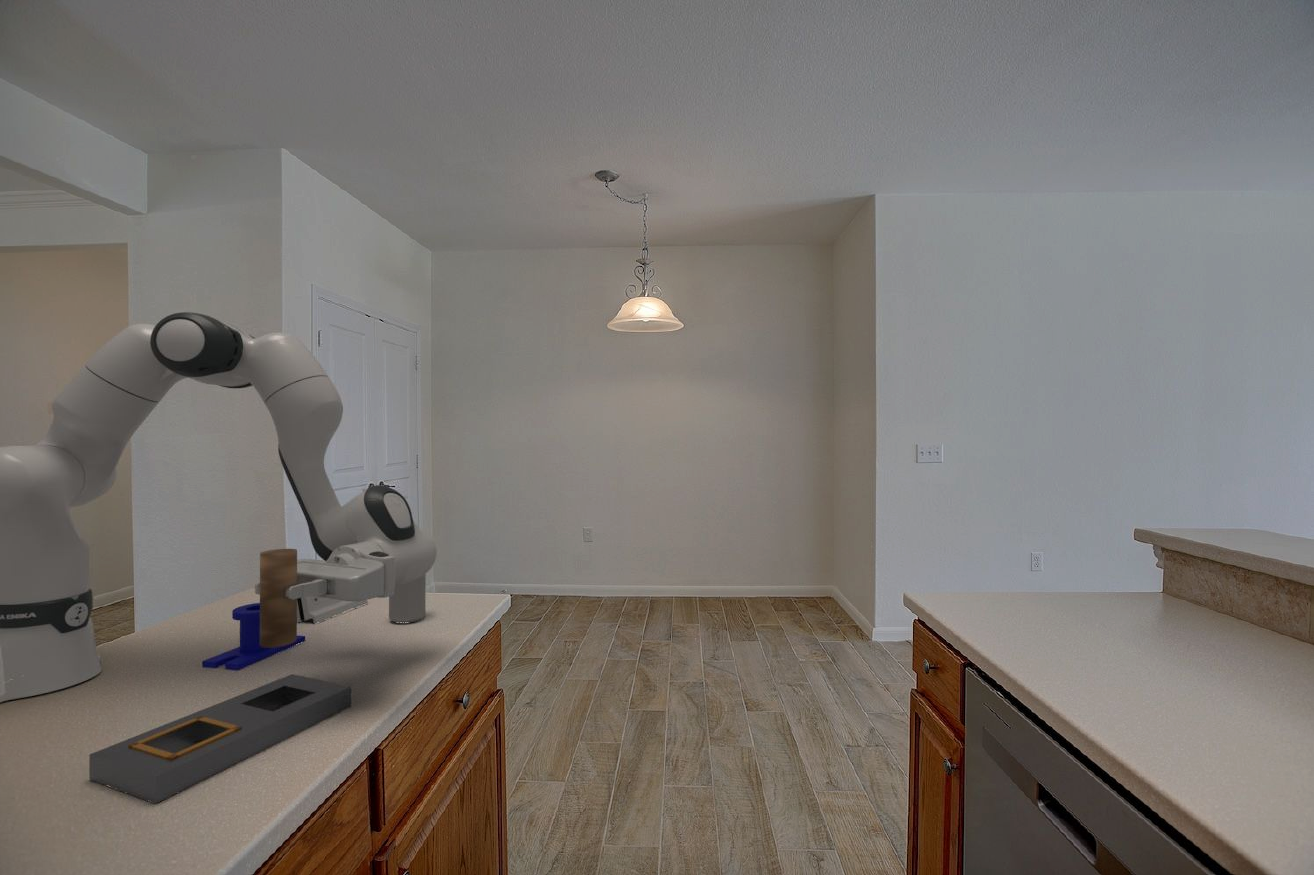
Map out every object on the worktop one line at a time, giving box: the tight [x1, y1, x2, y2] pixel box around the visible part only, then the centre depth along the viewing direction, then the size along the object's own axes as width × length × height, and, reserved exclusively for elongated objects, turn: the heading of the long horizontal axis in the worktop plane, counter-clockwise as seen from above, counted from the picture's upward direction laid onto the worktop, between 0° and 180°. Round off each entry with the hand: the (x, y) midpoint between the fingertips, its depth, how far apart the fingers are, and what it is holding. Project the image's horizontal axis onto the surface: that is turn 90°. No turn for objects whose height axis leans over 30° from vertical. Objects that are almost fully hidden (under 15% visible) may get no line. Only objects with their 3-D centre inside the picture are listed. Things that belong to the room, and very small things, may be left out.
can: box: [388, 573, 427, 623], centre depth 131 cm, size 8×8×12 cm
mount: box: [201, 602, 306, 671], centre depth 111 cm, size 15×8×9 cm, turn 169°
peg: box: [259, 548, 298, 648], centre depth 85 cm, size 4×4×13 cm
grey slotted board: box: [88, 673, 352, 805], centre depth 79 cm, size 12×26×3 cm, turn 159°
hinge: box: [297, 596, 369, 624], centre depth 137 cm, size 17×5×10 cm, turn 167°
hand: (272, 591), depth 84 cm, fingers closed on peg, 4 cm apart
